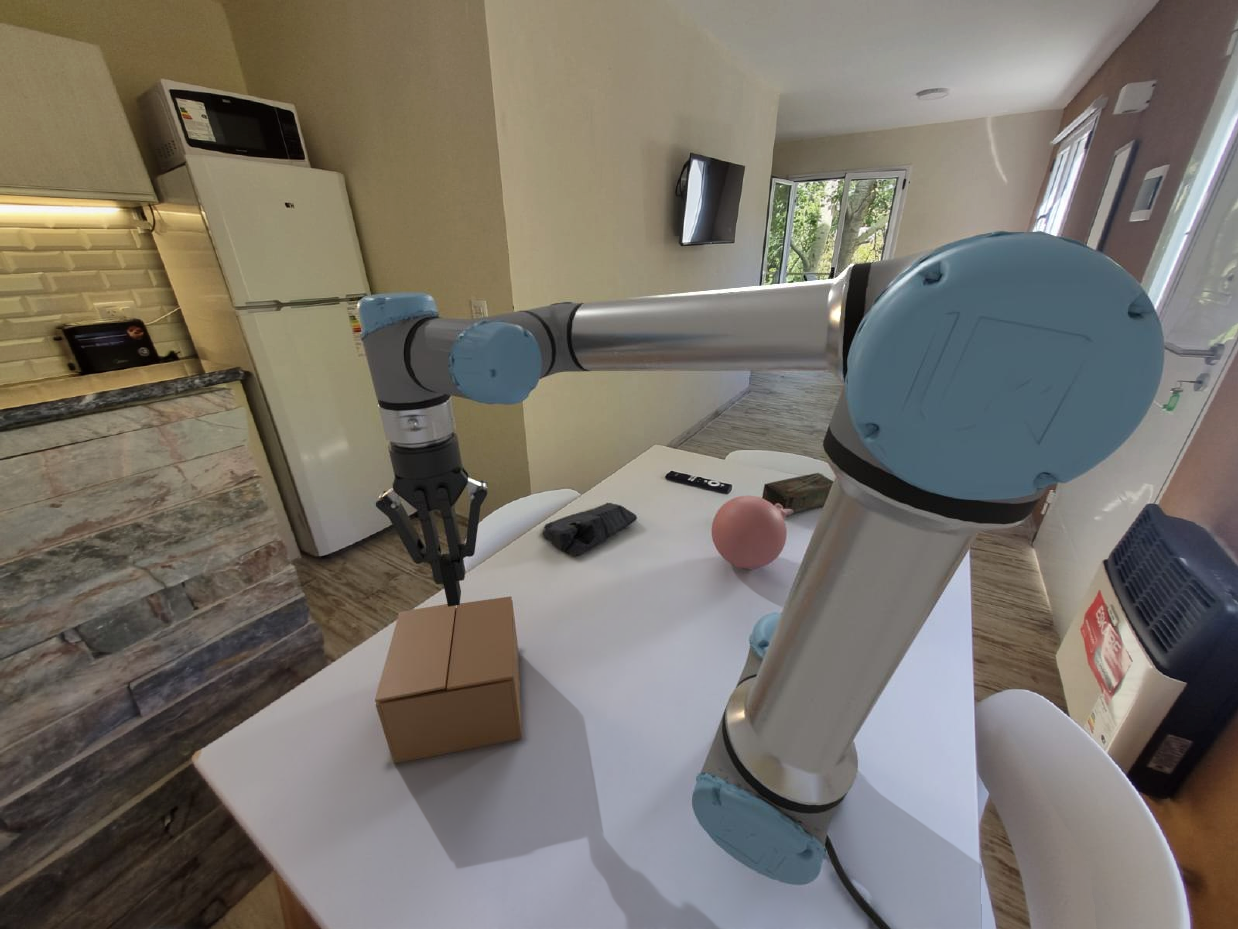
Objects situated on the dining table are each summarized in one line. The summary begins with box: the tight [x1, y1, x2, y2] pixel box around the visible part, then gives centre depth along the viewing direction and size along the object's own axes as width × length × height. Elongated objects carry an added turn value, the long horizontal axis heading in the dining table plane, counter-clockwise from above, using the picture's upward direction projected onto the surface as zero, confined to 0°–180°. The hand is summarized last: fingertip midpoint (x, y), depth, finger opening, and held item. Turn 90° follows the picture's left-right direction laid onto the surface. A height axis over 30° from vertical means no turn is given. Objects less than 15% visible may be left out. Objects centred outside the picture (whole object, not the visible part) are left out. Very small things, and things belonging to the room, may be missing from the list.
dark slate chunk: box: [541, 502, 638, 557], centre depth 115 cm, size 15×22×5 cm
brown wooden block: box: [761, 472, 834, 514], centre depth 127 cm, size 8×19×7 cm, turn 114°
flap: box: [374, 603, 457, 703], centre depth 67 cm, size 16×8×1 cm, turn 12°
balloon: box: [711, 495, 794, 570], centre depth 103 cm, size 15×20×15 cm
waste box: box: [375, 596, 523, 764], centre depth 71 cm, size 16×17×12 cm
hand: (454, 599), depth 65 cm, fingers closed
